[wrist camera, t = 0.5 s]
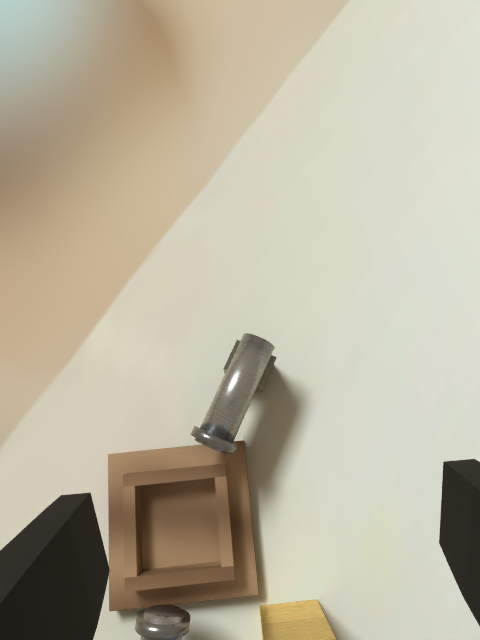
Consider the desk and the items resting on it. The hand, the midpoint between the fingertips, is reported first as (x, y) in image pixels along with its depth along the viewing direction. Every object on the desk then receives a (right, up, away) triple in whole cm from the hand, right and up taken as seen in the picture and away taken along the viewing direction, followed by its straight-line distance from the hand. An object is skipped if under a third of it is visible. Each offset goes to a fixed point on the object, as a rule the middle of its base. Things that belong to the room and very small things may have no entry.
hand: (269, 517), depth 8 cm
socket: (-5, -10, +22) cm, 24 cm away
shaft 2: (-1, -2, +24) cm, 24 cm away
